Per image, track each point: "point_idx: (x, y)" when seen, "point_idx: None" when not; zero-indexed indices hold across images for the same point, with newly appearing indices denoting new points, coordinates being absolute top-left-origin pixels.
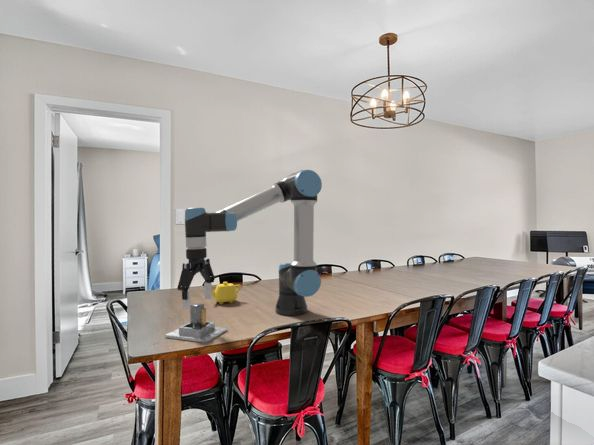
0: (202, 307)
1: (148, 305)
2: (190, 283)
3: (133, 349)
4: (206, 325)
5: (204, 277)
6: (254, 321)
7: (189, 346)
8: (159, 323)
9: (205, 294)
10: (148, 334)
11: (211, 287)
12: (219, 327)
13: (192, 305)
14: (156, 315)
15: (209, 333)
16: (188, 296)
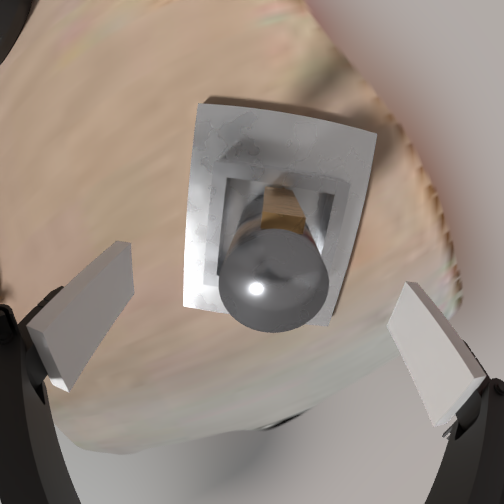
0: (291, 233)
1: (96, 433)
2: (488, 439)
3: None
4: (278, 181)
5: (54, 447)
6: (77, 61)
7: (408, 190)
8: (193, 390)
9: (117, 309)
10: (297, 376)
11: (44, 298)
12: (200, 143)
13: (290, 315)
14: (138, 412)
15: (294, 153)
16: (459, 342)
